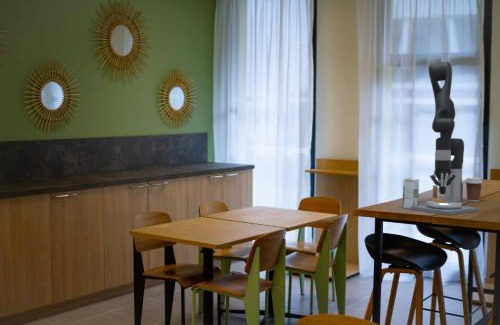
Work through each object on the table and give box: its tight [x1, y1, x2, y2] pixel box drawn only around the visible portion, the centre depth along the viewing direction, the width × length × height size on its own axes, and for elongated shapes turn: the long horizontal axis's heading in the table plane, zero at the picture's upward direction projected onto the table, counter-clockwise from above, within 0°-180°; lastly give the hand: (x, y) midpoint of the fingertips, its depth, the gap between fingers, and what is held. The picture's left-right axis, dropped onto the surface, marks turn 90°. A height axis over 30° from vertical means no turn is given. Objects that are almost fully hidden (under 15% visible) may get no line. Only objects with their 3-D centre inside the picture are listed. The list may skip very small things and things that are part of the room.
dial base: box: [410, 204, 479, 216], centre depth 314 cm, size 22×22×2 cm
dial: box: [426, 184, 463, 209], centre depth 315 cm, size 20×16×9 cm
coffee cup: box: [464, 177, 484, 202], centre depth 353 cm, size 9×9×12 cm
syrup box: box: [402, 177, 420, 209], centre depth 322 cm, size 6×6×14 cm
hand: (442, 194), depth 324 cm, fingers closed
